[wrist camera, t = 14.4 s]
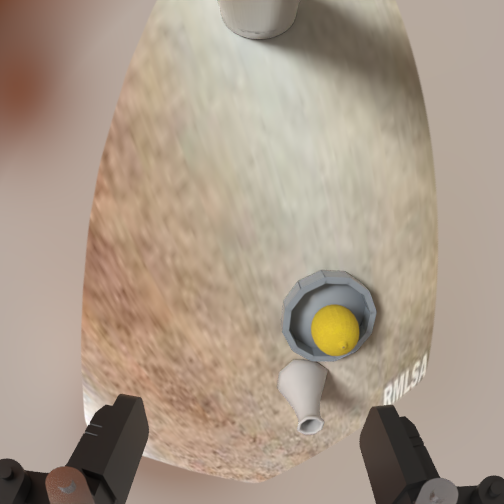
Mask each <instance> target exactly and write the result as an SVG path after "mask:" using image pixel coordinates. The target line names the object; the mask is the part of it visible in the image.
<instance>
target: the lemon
mask: <svg viewBox="0 0 504 504" xmlns="http://www.w3.org/2000/svg"><path fill="white" fill-rule="evenodd" d="M311 334H312V337H313V340H314V342H315V344H316V345H317V346H318V348H319V349H320V350H321V351H323V352H324V353H326V354H328V355H331V356H342V355H345V354H347V353H349V352H350V351H351V350H352V349H353V348H354V347H355V346H356V344H357V342H358V339H359V325H358V322H357V320H356V318H355V316H354V314H353V313H352V312H351V311H350V310H349V309H347V308H346V307H344V306H341V305H337V304H331V305H327V306H325V307H323V308H321V309H320V310H319V311H318V312H317V313H316V314H315V316H314V318H313V320H312V324H311Z"/></svg>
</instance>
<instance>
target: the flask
mask: <svg viewBox="0 0 504 504" xmlns="http://www.w3.org/2000/svg"><path fill="white" fill-rule="evenodd" d="M327 371H328V370H327V369H325V368H324V367H323V366H321V365H320V364H319V363H317V362H316V361H310V360H293V361H291V362H290V363H289V364H288V365H287V366H286V367H285V368H283V369H282V370H281V371H280V372H279V377H278V383H277V388H278V390H279V391H280V392H281V394H282V395H283V396H284V397H285V398H286V400H287V401H288V402H289V404H290V405H291V406H292V408H293V409H294V411H295V413H296V415H297V418H298V422H299V423H298V427H297V431H299V432H301V433H303V434H304V435H307V434H316V433H317V432H319V431H320V430H322V428H323V425H324V420H323V419H322V418H321V416H320V400H321V395H322V391H323V388H324V384H325V380H326V376H327Z"/></svg>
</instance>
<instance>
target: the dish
mask: <svg viewBox="0 0 504 504" xmlns="http://www.w3.org/2000/svg"><path fill="white" fill-rule="evenodd" d="M331 304H337V305H341V306H344V307H346V308H347V309H349V310H350V311H351V312H352V313H353V314H354V316H355V318H356V320H357V322H358V325H359V339H358V342H357V344H356V346H355V347H354V348H353V349H352V350H351V351H350V352H349V353H347V354H345V355H342V356H331V355H328V354H326V353H324V352H323V351H321V350H320V349H319V348H318V346H317V345H316V344H315V342H314V340H313V337H312V334H311V324H312V320H313V318H314V316H315V314H316V313H317V312H318V311H319V310H320V309H321V308H323V307H325V306H327V305H331ZM376 313H377V312H376V308H375V305H374V302H373V300H372V297H371V294H370V291H369V290H368V289H367V288H366V287H365V286H364V284H363V283H361V282H360V281H358V280H357V279H356V278H354V277H353V276H351V275H350V274H348V273H347V272H345V271H331V270H320V271H318V272H316V273H314V274H312V275H309V276H307V277H305V278H303V279H301V280H299V282H297V283H296V284H295V286H294V287H293V288H292V290H291V291H290V292H289V294H288V295H287V296H286V298H285V299H284V301H283V309H282V318H281V326H282V332H283V334H284V336H285V338H286V340H287V342H288V344H289V346H290V347H291V349H292V350H293V352H295V353H297V354H299V355H301V356H303V357H304V358H306V359H308V360H310V361H337V360H339V359H341V358H343V357H345V356H348V355H350V354H352V353H354V352H356V351H357V350H358V349H359V348H360V347H361V345H362V344H363V343H364V342H365V341H366V340H367V338H368V337H369V336H370V335H371V333H372V330H373V326H374V321H375V317H376Z"/></svg>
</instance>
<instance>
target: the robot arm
mask: <svg viewBox="0 0 504 504" xmlns="http://www.w3.org/2000/svg"><path fill="white" fill-rule="evenodd" d="M217 1H218V5H219V8H220V12H221V16H222V19H223V21H224V23H225V24H226V26H227V27H228V28H229V29H230V30H232V31H233V32H234V33H236V34H238V35H240V36H243V37H246V38H251V39H267V38H272V37H275V36H278V35H280V34H282V33H283V32H285V31H287V30H288V29H289V28H290V27H291V25H292V24H293V22H294V21H295V17H296V14H297V10H298V6H299V2H300V0H217ZM148 434H149V426H148V421H147V417H146V413H145V409H144V405H143V401H142V398H141V397H136V396H130V395H125V394H120V395H119V396H118V397H117V399H116V401H115V403H114V404H113V406H110V405H105V406H103V407H102V408H101V409H99V410H98V411H97V412H96V413H95V414H94V416H93V418H92V420H91V421H90V425H88V427H87V428H86V430H85V434H83V436H82V437H81V439H80V442H79V443H78V445H77V447H76V448H75V450H74V452H73V454H72V456H71V457H70V459H69V461H68V463H67V464H66V465H65V466H61V467H57V468H55V469H53V470H52V471H51V472H50V473H40V472H33V471H26V470H24V469H23V468H22V466H21V465H20V464H19V463H18V462H17V461H15V460H12V459H1V460H0V504H125V502H126V500H127V497H128V494H129V491H130V488H131V485H132V482H133V479H134V476H135V474H136V471H137V468H138V465H139V462H140V459H141V457H142V454H143V451H144V448H145V445H146V443H147V440H148ZM360 449H361V453H362V456H363V459H364V463H365V466H366V469H367V473H368V477H369V480H370V483H371V487H372V491H373V494H374V498H375V501H376V504H504V479H503V478H502V477H499V476H489V477H486V478H485V479H484V480H483V481H482V482H481V483H480V484H479V485H478V486H463V487H456V486H455V485H454V484H453V483H452V482H451V481H449V480H447V479H444V478H440V476H439V474H438V472H437V470H436V468H435V466H434V464H433V462H432V460H431V458H430V455H429V453H428V451H427V449H426V447H425V446H424V443H423V441H422V439H421V437H420V435H419V433H418V431H417V429H416V427H415V425H414V424H413V423H412V422H411V421H410V420H408V419H407V418H406V417H405V416H404V417H399V415H398V413H397V411H396V409H395V407H394V406H393V405H384V406H375V407H372V408H371V409H370V411H369V414H368V417H367V419H366V422H365V424H364V427H363V429H362V432H361V435H360Z"/></svg>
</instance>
